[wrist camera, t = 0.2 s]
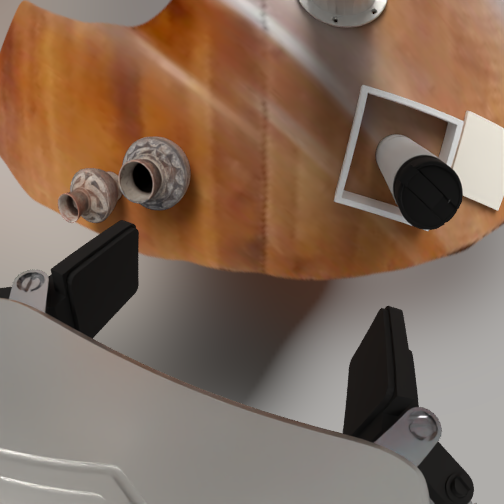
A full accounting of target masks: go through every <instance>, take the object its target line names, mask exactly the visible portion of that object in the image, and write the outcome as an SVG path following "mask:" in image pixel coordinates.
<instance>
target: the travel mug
mask: <svg viewBox="0 0 504 504" xmlns="http://www.w3.org/2000/svg"><path fill="white" fill-rule="evenodd" d="M376 161H377V164H378V166H379V168H380V170H381V172H382V174H383V176H384V178H385V180H386V183H387V185H388V187H389V189H390V191H391V193H392V195H393V198H394V200H395V202H396V204H397V205H398V207H399V209H400V212H401V214H402V215H403V217H404V218H405V220H406V221H407V222H408V223H410V224H411V225H412V226H414V227H417V228H419V229H424V230H432V229H437V228H439V227H441V226H442V225H444V223H446V222H448V221H449V220H450V219H451V218H452V217H453V216H454V215H455V213H456V211H457V209H458V208H459V206H460V204H461V202H462V196H463V190H462V184H461V181H460V179H459V177H458V175H457V174H456V172H455V171H454V170H453V169H452V168H451V167H449V166H448V165H447V164H446V163H444V162H443V161H442V160H441V159H439V158H438V157H436V156H435V155H434V154H432V153H431V152H429V151H428V150H426V149H425V148H423V147H422V146H420V145H419V144H417V143H416V142H414V141H412V140H411V139H409V138H408V137H406V136H404V135H400V134H393V135H389V136H387V137H385V138H383V139H382V140H381V141H380V143H379V144H378V146H377V149H376Z"/></svg>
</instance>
